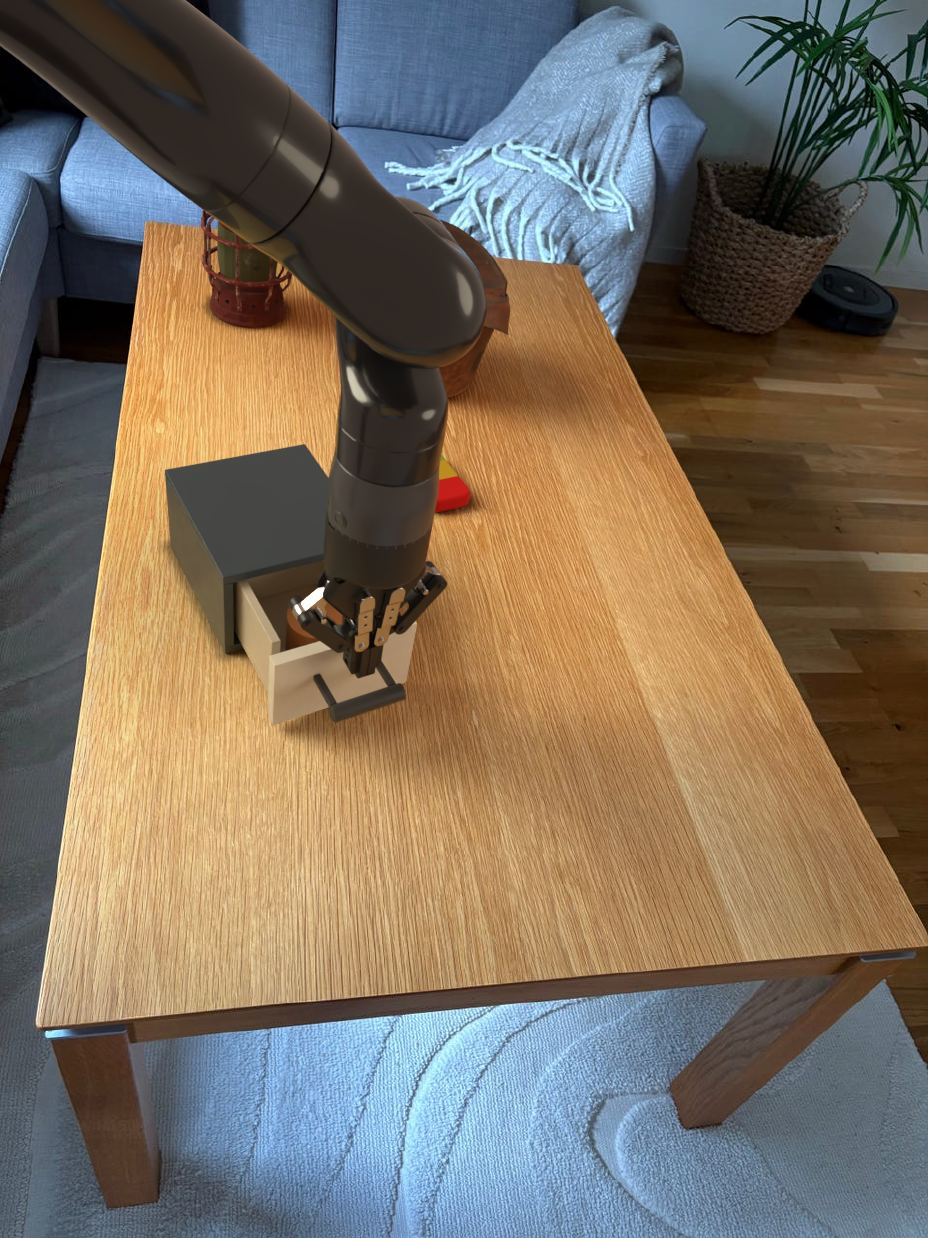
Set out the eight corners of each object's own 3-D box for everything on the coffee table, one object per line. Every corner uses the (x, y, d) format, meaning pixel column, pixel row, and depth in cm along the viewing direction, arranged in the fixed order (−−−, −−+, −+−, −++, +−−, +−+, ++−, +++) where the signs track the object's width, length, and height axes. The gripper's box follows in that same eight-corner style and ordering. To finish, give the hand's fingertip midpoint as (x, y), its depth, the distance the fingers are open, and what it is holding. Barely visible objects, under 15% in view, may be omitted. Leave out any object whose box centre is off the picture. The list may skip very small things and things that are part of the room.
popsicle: (430, 515, 105) (433, 502, 103) (374, 440, 113) (375, 427, 112) (472, 506, 107) (475, 493, 106) (413, 433, 116) (415, 420, 114)
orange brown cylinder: (300, 679, 82) (302, 646, 79) (276, 636, 85) (277, 602, 82) (356, 661, 85) (361, 628, 82) (331, 620, 88) (334, 587, 85)
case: (454, 433, 117) (479, 301, 104) (328, 369, 122) (337, 236, 110) (521, 380, 129) (551, 255, 116) (403, 324, 134) (419, 199, 122)
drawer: (431, 721, 83) (445, 663, 77) (295, 769, 77) (299, 710, 71) (340, 579, 94) (345, 520, 88) (214, 612, 88) (212, 550, 82)
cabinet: (364, 614, 92) (373, 541, 85) (225, 654, 86) (223, 577, 79) (300, 517, 101) (304, 443, 94) (170, 546, 94) (164, 469, 87)
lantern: (281, 338, 126) (288, 98, 105) (192, 321, 125) (180, 76, 104) (299, 297, 135) (309, 68, 114) (216, 281, 134) (210, 48, 113)
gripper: (437, 458, 69) (409, 617, 82) (270, 493, 63) (267, 660, 76) (488, 519, 65) (451, 678, 77) (315, 563, 59) (304, 727, 72)
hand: (360, 669), depth 77 cm, fingers closed
